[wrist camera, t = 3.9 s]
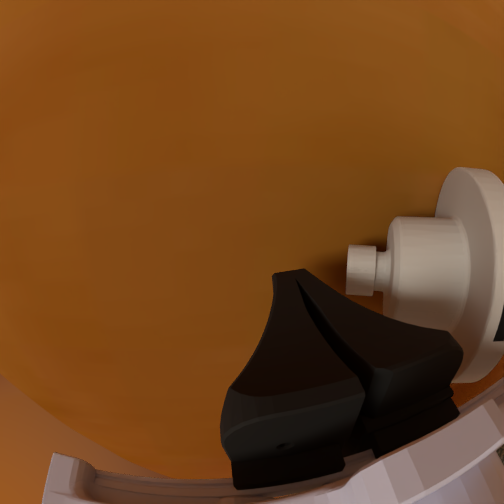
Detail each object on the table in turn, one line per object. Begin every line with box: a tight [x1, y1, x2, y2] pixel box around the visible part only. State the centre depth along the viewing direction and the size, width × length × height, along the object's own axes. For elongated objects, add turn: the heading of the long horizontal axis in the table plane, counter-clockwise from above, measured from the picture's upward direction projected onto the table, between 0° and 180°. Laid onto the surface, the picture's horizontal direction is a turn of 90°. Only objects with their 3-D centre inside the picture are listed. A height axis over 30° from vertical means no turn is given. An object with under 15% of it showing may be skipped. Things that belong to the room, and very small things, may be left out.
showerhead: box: [346, 167, 504, 383], centre depth 11 cm, size 9×7×10 cm
